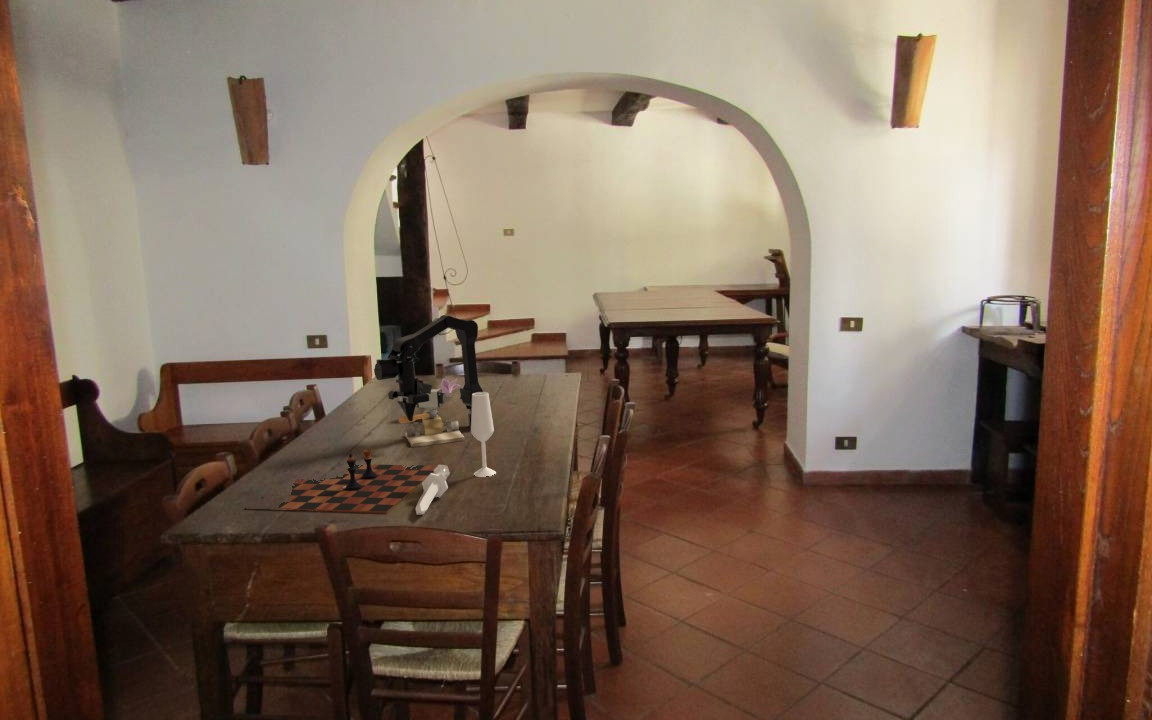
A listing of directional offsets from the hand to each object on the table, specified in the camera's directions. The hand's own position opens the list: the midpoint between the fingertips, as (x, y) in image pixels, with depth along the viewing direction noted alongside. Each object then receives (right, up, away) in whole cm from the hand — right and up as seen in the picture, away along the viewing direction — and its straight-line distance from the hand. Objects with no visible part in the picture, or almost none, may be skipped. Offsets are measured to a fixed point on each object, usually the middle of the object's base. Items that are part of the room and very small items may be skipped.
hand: (410, 420), depth 261 cm
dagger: (+19, -17, -58) cm, 63 cm away
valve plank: (+7, -6, +5) cm, 11 cm away
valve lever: (+2, 0, +4) cm, 4 cm away
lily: (+2, +4, +68) cm, 68 cm away
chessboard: (-8, -16, -43) cm, 46 cm away
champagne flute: (+30, -13, -36) cm, 48 cm away
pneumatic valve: (0, -2, +36) cm, 36 cm away
